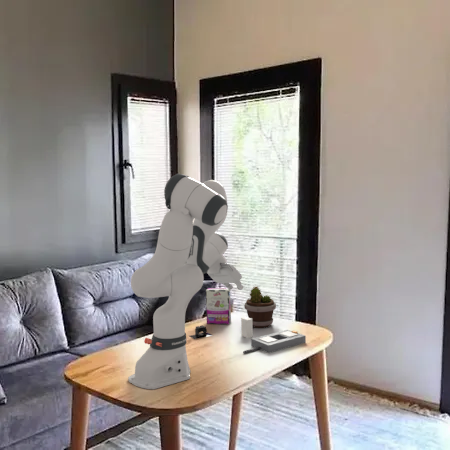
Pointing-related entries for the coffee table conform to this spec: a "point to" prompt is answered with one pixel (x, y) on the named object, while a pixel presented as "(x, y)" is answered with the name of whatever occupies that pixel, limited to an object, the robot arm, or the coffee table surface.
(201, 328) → the black boxy piece
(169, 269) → the robot arm
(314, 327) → the coffee table surface
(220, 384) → the coffee table surface
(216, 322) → the candy bar box
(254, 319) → the flowerpot
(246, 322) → the plug
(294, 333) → the power strip
